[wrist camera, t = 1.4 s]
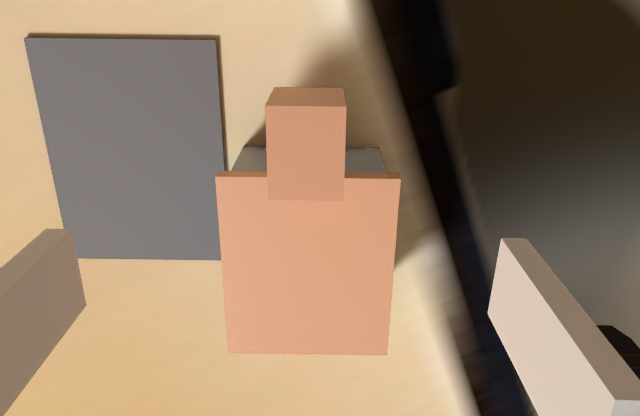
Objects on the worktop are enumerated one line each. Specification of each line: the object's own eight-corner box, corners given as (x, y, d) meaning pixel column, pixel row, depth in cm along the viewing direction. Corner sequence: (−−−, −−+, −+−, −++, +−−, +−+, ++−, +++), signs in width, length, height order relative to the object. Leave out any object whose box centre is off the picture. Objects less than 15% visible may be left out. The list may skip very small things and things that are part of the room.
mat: (26, 37, 35) (23, 37, 34) (216, 39, 35) (215, 40, 34) (71, 256, 41) (70, 258, 41) (230, 258, 41) (230, 260, 41)
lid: (214, 86, 30) (193, 104, 25) (403, 88, 30) (418, 107, 25) (232, 338, 37) (218, 389, 32) (384, 340, 37) (393, 392, 32)
